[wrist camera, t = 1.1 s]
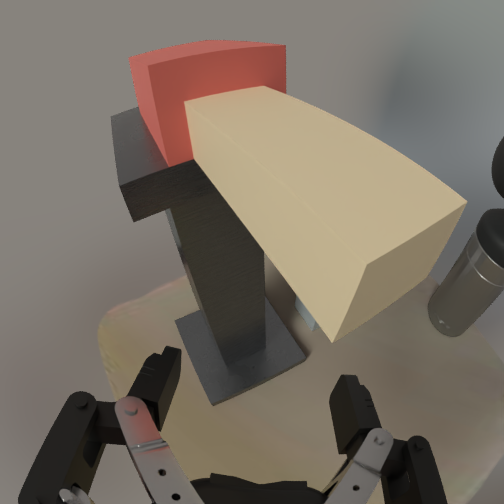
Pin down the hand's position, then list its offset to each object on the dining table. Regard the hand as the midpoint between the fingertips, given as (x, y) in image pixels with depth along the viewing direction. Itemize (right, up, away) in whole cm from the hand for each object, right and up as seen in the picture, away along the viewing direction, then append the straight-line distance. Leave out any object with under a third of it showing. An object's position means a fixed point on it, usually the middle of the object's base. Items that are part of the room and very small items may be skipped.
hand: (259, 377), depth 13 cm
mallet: (-1, +11, -1) cm, 11 cm away
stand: (-2, -7, +26) cm, 27 cm away
